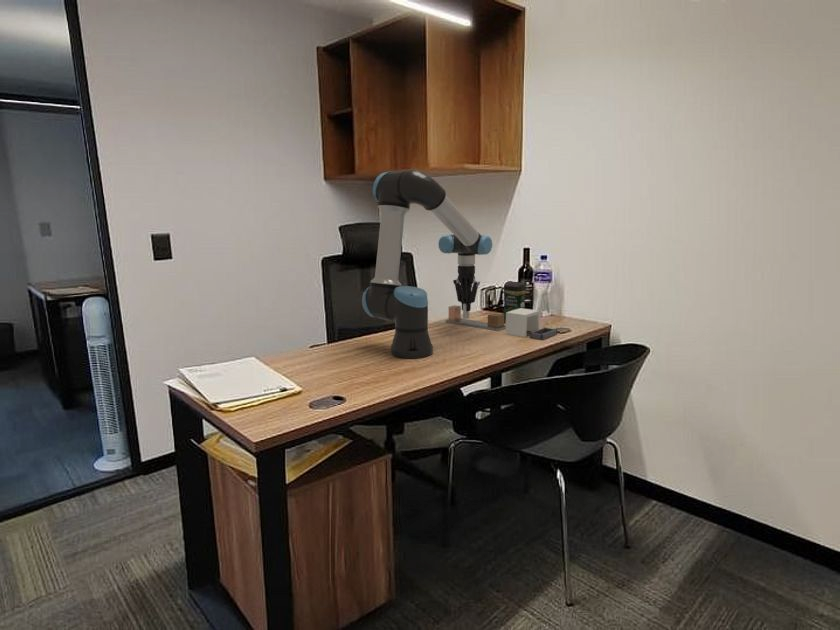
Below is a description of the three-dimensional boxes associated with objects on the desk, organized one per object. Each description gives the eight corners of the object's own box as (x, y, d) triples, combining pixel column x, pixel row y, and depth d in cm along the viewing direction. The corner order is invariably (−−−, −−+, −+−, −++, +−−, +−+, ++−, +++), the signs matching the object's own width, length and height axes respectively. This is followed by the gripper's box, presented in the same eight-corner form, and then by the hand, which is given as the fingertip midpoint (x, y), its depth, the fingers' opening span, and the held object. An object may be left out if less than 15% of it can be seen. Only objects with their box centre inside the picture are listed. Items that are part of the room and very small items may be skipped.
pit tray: (542, 341, 199) (542, 335, 199) (529, 338, 203) (529, 332, 202) (556, 335, 208) (557, 329, 208) (544, 333, 212) (544, 327, 211)
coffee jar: (499, 323, 231) (500, 282, 228) (509, 320, 237) (510, 280, 234) (518, 326, 225) (519, 283, 221) (527, 323, 231) (529, 281, 227)
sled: (498, 331, 215) (498, 314, 214) (445, 322, 233) (445, 306, 232) (507, 328, 220) (507, 312, 219) (454, 319, 238) (454, 304, 237)
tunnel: (525, 337, 205) (525, 315, 203) (505, 334, 210) (505, 312, 209) (539, 332, 213) (539, 310, 211) (519, 329, 219) (520, 308, 217)
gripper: (483, 265, 223) (483, 318, 228) (459, 263, 232) (459, 314, 236) (473, 266, 218) (473, 321, 223) (449, 264, 226) (449, 317, 231)
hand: (466, 317), depth 229 cm, fingers closed
